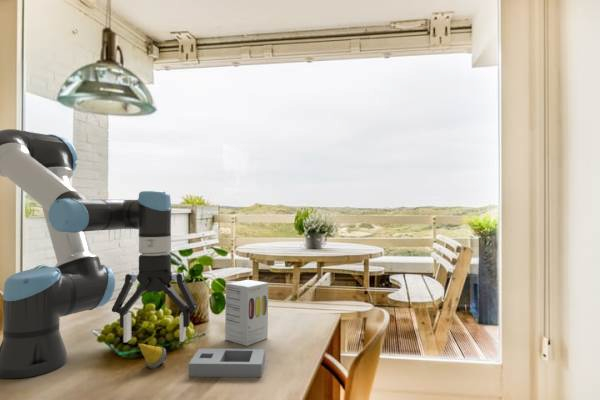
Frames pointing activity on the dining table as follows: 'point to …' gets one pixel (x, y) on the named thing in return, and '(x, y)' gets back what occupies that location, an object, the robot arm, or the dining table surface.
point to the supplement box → (246, 312)
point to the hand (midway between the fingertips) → (155, 340)
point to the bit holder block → (227, 363)
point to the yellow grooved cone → (153, 355)
